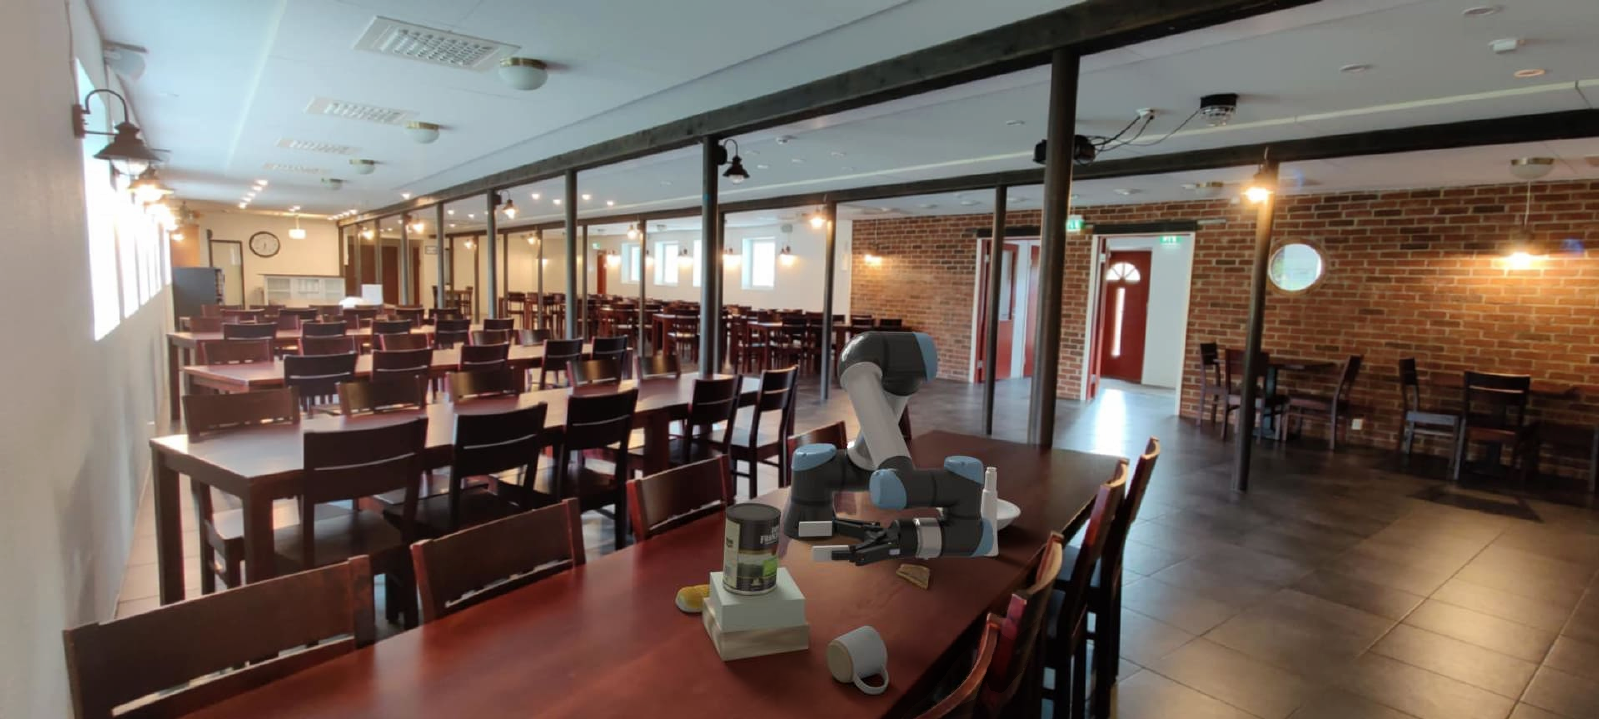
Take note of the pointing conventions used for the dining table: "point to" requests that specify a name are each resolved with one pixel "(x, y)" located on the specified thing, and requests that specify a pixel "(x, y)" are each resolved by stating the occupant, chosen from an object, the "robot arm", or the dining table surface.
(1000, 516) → the soup bowl
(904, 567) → the brown sandwich half
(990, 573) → the dining table surface
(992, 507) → the cosmetic bottle
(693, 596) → the bread roll
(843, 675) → the ceramic mug
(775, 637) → the birch block
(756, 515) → the coffee can
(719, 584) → the sage block
